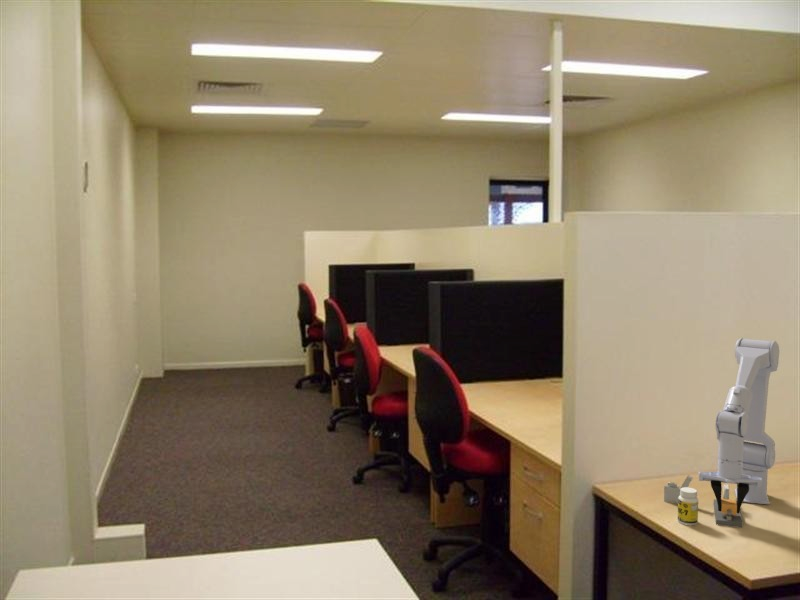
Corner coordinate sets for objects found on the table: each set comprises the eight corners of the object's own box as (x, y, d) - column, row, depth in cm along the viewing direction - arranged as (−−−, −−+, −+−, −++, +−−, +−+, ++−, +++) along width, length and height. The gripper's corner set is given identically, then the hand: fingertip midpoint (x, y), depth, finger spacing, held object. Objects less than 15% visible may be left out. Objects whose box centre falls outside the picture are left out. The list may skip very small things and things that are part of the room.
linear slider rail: (713, 503, 201) (714, 482, 200) (737, 506, 198) (738, 485, 198) (716, 524, 187) (716, 501, 186) (742, 527, 184) (743, 504, 184)
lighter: (663, 501, 203) (664, 472, 202) (665, 499, 204) (666, 470, 203) (690, 506, 199) (691, 477, 198) (692, 504, 200) (693, 475, 199)
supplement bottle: (673, 520, 190) (674, 488, 189) (687, 517, 191) (688, 485, 191) (687, 526, 185) (688, 494, 184) (701, 523, 187) (702, 491, 186)
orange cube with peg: (720, 507, 191) (721, 498, 191) (735, 509, 190) (735, 500, 190) (721, 515, 186) (722, 505, 186) (737, 517, 185) (737, 507, 185)
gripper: (699, 460, 186) (698, 512, 187) (763, 466, 181) (761, 520, 182) (699, 452, 193) (697, 503, 194) (761, 457, 188) (758, 510, 189)
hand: (728, 510), depth 189 cm, fingers closed on orange cube with peg, 3 cm apart
